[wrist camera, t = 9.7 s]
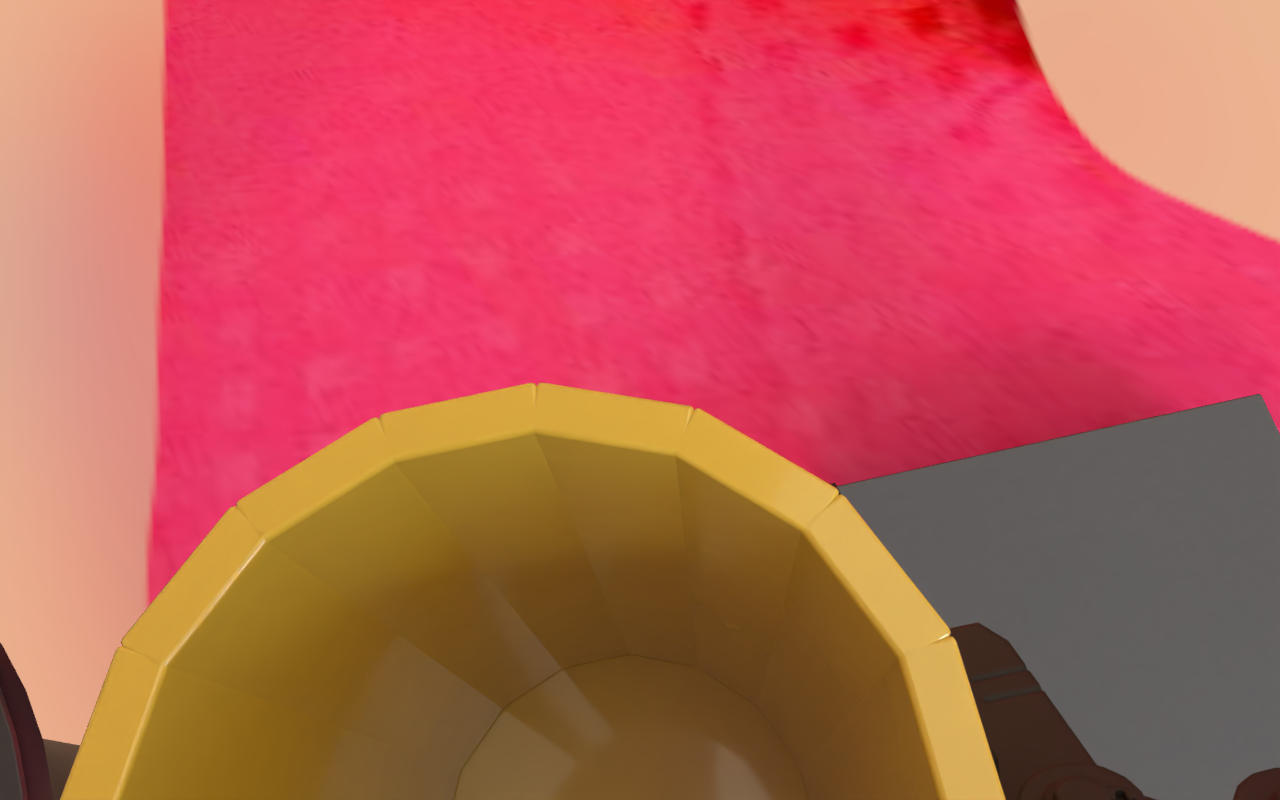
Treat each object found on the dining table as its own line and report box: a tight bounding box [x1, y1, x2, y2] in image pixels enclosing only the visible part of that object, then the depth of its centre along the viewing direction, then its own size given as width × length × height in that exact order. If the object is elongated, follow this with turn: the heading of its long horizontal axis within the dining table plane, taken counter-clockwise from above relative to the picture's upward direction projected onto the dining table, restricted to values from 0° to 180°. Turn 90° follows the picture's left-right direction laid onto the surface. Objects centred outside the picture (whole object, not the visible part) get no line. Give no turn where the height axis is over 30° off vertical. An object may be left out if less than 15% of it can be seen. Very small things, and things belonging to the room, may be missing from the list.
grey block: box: [837, 394, 1280, 800], centre depth 32 cm, size 14×14×4 cm
